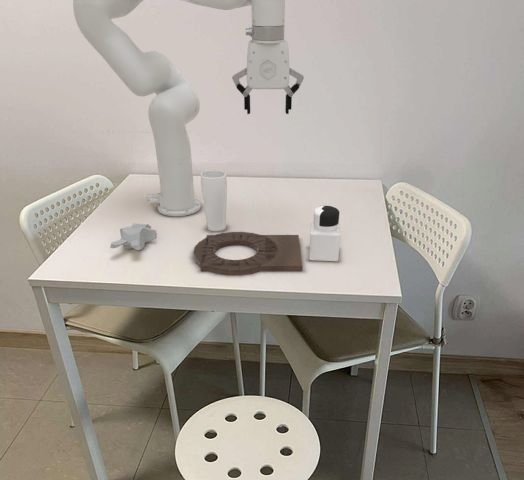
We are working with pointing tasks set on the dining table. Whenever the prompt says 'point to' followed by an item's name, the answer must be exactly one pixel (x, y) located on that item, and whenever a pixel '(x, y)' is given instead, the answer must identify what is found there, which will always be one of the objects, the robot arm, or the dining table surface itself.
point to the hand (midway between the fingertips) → (267, 112)
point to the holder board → (266, 259)
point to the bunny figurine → (135, 236)
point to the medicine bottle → (325, 234)
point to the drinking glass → (214, 198)
